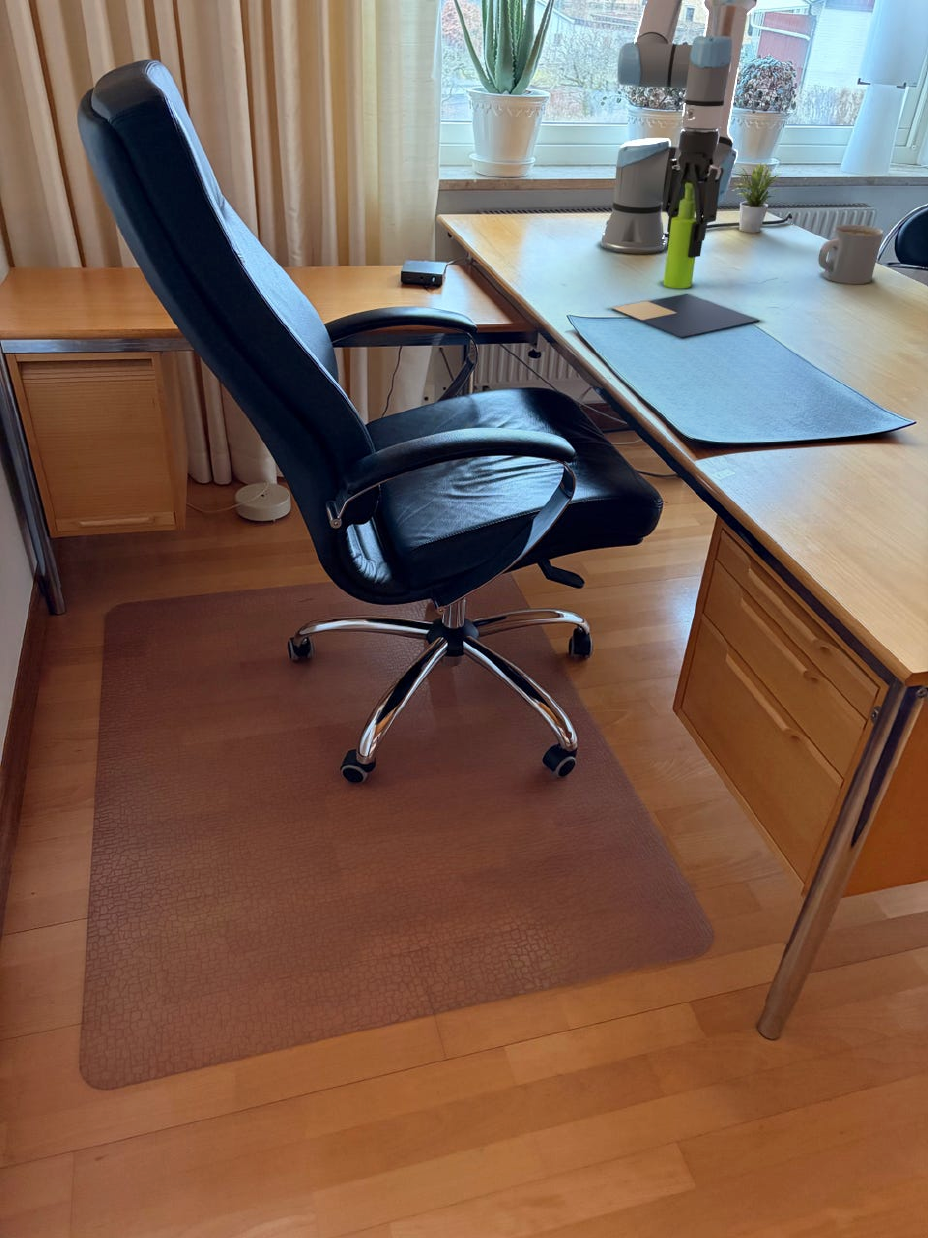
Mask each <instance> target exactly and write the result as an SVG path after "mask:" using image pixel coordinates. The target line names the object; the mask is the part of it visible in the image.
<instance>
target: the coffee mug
mask: <svg viewBox="0 0 928 1238" xmlns="http://www.w3.org/2000/svg"><path fill="white" fill-rule="evenodd" d="M883 236H884V231H883V229H880V228H877V227H875V226H874V227H873V226H869V225H864V224H863V225H862V224H840V225H837V226H835V227H834V229H833V233H832V238H831V239H829V240H827V241H825V242H824V243H823V244H822V245H821V247H820V250H819V253H818V257H817V258H818V259H817V261H818V262H817V263H818V265H819V267H821V268H822V269H823V270H824V271H823V278H825V279H827V280H828V281H832V282H835V283H839V284H845V285H846V284H847V285H865V284H868V283H870V282H871V281H872V278H873V274H874V272H875V271H874V270H875V267H876V264H877V259H878V255H879V251H880V247H881V244H882V240H883Z"/></svg>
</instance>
